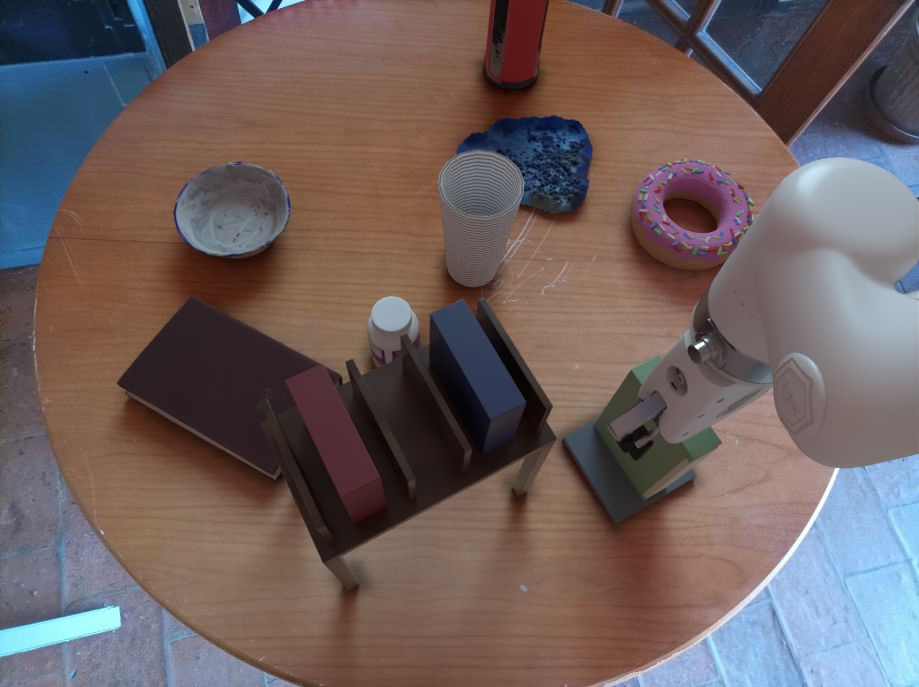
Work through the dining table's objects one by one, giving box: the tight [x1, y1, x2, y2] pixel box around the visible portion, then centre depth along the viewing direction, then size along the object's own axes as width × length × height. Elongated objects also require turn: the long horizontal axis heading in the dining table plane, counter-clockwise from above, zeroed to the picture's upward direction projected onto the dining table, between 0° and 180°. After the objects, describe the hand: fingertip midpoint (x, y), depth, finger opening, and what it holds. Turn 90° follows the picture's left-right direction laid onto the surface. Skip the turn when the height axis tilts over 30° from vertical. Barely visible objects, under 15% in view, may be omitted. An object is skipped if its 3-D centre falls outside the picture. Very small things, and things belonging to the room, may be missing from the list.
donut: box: [630, 157, 755, 271], centre depth 84 cm, size 14×14×5 cm
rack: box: [259, 297, 558, 591], centre depth 60 cm, size 12×20×24 cm, turn 119°
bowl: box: [172, 161, 291, 260], centre depth 81 cm, size 13×13×5 cm
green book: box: [594, 354, 723, 500], centre depth 65 cm, size 9×3×15 cm, turn 29°
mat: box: [561, 419, 698, 525], centre depth 73 cm, size 10×10×1 cm
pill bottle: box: [366, 295, 421, 368], centre depth 73 cm, size 5×5×10 cm
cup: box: [437, 150, 524, 288], centre depth 75 cm, size 8×8×16 cm
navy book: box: [428, 298, 526, 456], centre depth 52 cm, size 9×3×8 cm, turn 28°
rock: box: [454, 114, 594, 215], centre depth 88 cm, size 15×17×2 cm
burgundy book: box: [285, 362, 387, 524], centre depth 50 cm, size 9×3×8 cm, turn 29°
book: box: [116, 295, 344, 483], centre depth 73 cm, size 12×19×3 cm, turn 61°
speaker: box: [482, 0, 550, 90], centre depth 88 cm, size 8×8×18 cm
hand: (673, 418), depth 60 cm, fingers open, 9 cm apart
